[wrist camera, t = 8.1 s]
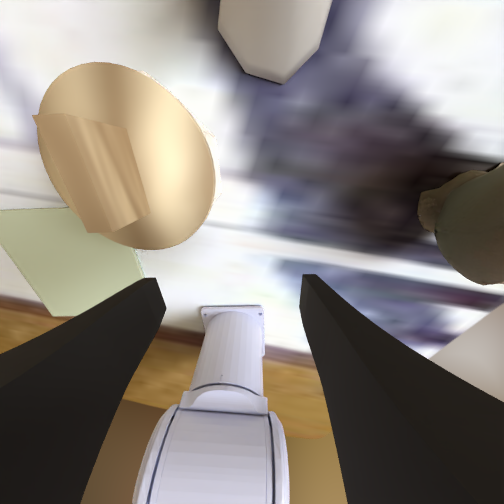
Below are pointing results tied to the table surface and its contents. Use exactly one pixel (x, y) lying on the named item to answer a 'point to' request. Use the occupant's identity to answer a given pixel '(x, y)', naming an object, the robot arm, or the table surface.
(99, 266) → the mat
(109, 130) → the lid
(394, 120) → the table surface
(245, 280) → the table surface
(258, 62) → the flask
